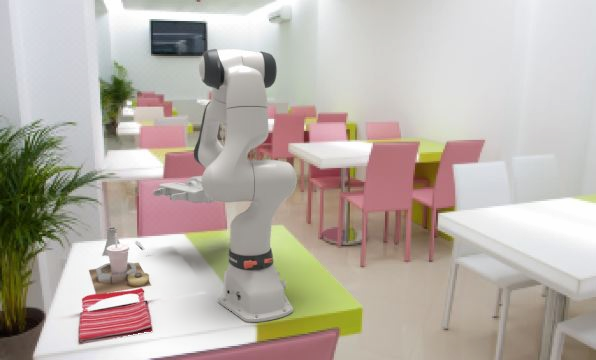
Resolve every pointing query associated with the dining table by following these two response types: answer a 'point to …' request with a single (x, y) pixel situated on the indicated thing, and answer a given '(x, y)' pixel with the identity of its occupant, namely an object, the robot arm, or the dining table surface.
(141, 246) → the fork
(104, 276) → the socket ring
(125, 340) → the dining table surface
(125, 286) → the carrier board
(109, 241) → the flask
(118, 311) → the dish towel
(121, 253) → the smoothie
